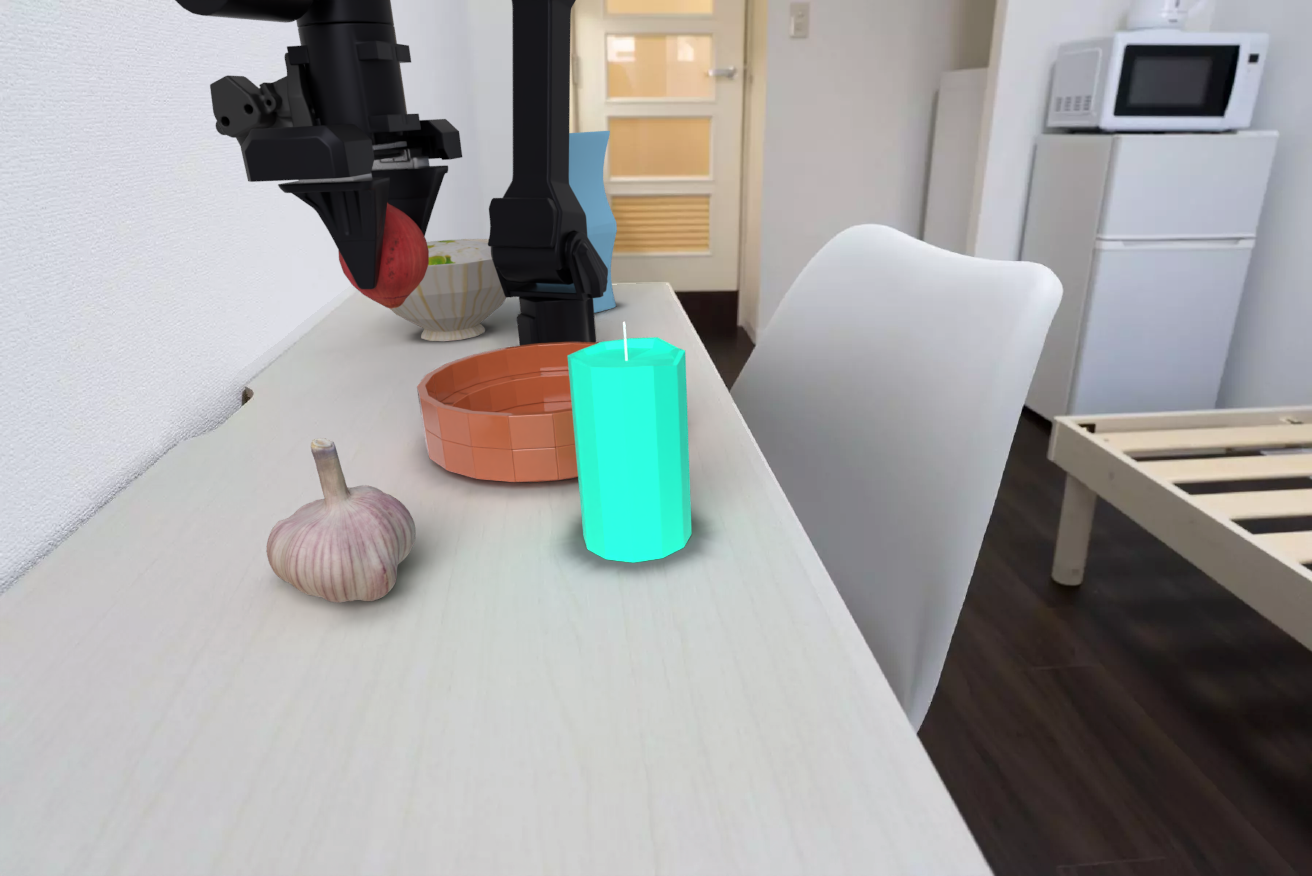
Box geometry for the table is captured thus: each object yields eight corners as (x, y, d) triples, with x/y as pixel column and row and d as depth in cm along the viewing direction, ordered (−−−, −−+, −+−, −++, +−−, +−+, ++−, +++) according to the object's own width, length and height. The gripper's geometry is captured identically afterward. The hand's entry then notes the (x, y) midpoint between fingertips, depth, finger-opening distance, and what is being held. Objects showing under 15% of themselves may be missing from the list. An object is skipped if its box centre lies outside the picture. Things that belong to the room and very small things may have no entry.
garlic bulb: (406, 616, 39) (378, 461, 36) (248, 630, 39) (206, 474, 36) (432, 540, 46) (410, 405, 44) (298, 551, 46) (266, 415, 43)
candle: (610, 573, 42) (593, 344, 38) (566, 527, 47) (546, 319, 43) (712, 543, 45) (706, 324, 40) (660, 502, 50) (650, 303, 45)
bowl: (575, 321, 95) (568, 231, 91) (452, 365, 80) (437, 260, 76) (453, 307, 105) (442, 226, 101) (323, 345, 90) (305, 251, 86)
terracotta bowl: (585, 387, 71) (580, 330, 70) (719, 440, 58) (717, 372, 57) (391, 439, 62) (380, 374, 60) (499, 516, 49) (489, 437, 47)
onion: (410, 318, 55) (390, 192, 52) (332, 318, 56) (308, 195, 53) (449, 299, 60) (433, 184, 57) (377, 299, 61) (358, 186, 58)
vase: (621, 305, 101) (610, 130, 94) (574, 318, 96) (559, 134, 89) (576, 298, 106) (563, 132, 99) (529, 311, 101) (511, 135, 93)
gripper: (306, 45, 61) (345, 258, 67) (120, 24, 44) (194, 312, 50) (449, 35, 60) (477, 255, 65) (315, 9, 43) (368, 310, 48)
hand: (388, 279), depth 57 cm, fingers closed on onion, 6 cm apart
